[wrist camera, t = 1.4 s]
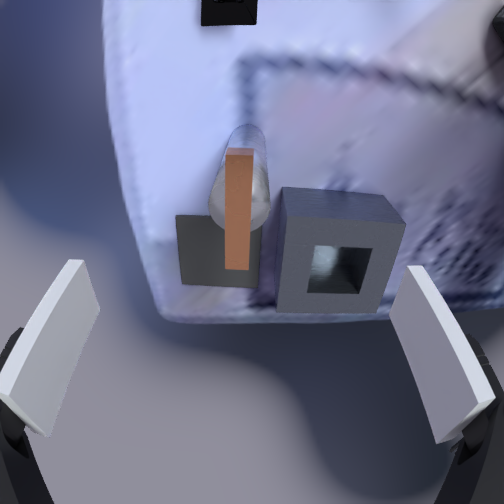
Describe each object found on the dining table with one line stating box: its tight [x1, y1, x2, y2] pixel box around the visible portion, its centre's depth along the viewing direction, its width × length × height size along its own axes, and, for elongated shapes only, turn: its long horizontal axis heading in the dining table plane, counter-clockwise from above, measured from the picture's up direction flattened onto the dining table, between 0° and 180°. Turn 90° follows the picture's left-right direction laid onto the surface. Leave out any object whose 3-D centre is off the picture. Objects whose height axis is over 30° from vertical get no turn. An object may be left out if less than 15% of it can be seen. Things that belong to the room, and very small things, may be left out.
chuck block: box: [274, 187, 406, 313], centre depth 35 cm, size 12×12×7 cm
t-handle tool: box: [208, 124, 270, 270], centre depth 24 cm, size 4×7×17 cm, turn 178°
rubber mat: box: [176, 215, 262, 288], centre depth 39 cm, size 10×10×1 cm
